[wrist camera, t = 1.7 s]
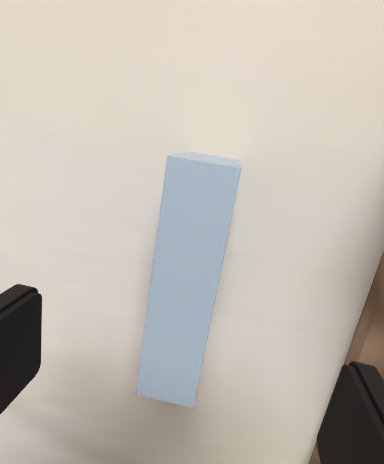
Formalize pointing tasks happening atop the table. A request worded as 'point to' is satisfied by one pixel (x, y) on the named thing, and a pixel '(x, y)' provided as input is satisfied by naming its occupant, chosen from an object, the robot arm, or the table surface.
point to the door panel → (185, 273)
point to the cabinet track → (368, 334)
